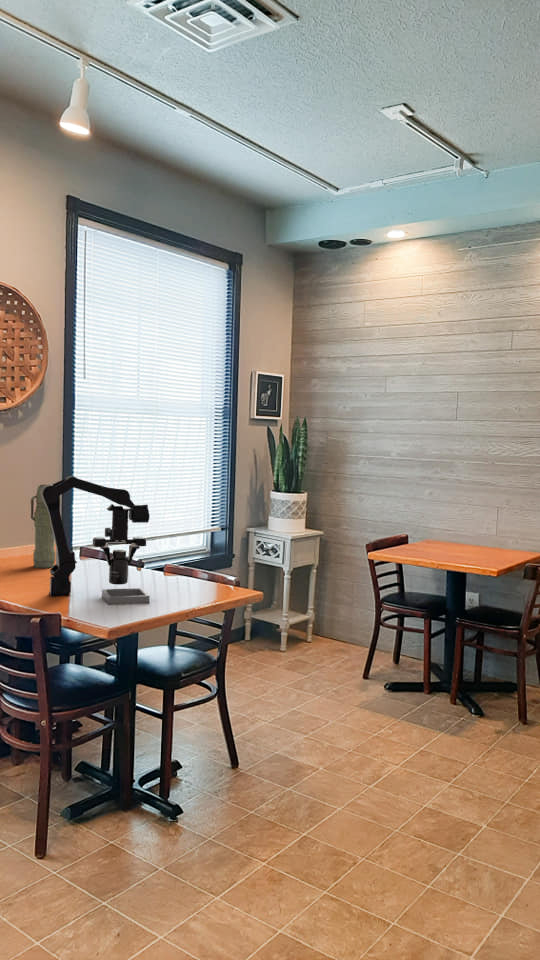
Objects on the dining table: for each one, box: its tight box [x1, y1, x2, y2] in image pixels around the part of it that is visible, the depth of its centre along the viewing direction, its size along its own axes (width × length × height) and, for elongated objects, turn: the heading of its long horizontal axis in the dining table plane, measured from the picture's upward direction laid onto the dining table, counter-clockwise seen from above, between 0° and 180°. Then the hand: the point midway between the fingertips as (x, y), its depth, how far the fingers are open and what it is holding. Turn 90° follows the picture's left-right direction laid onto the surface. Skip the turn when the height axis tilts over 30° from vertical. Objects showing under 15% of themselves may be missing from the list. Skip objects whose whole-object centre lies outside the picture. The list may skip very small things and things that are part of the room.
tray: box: [101, 587, 151, 606], centre depth 271 cm, size 14×14×2 cm
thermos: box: [30, 484, 56, 569], centre depth 330 cm, size 9×12×35 cm
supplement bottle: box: [108, 549, 129, 585], centre depth 284 cm, size 7×7×12 cm
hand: (118, 565), depth 284 cm, fingers closed on supplement bottle, 7 cm apart
